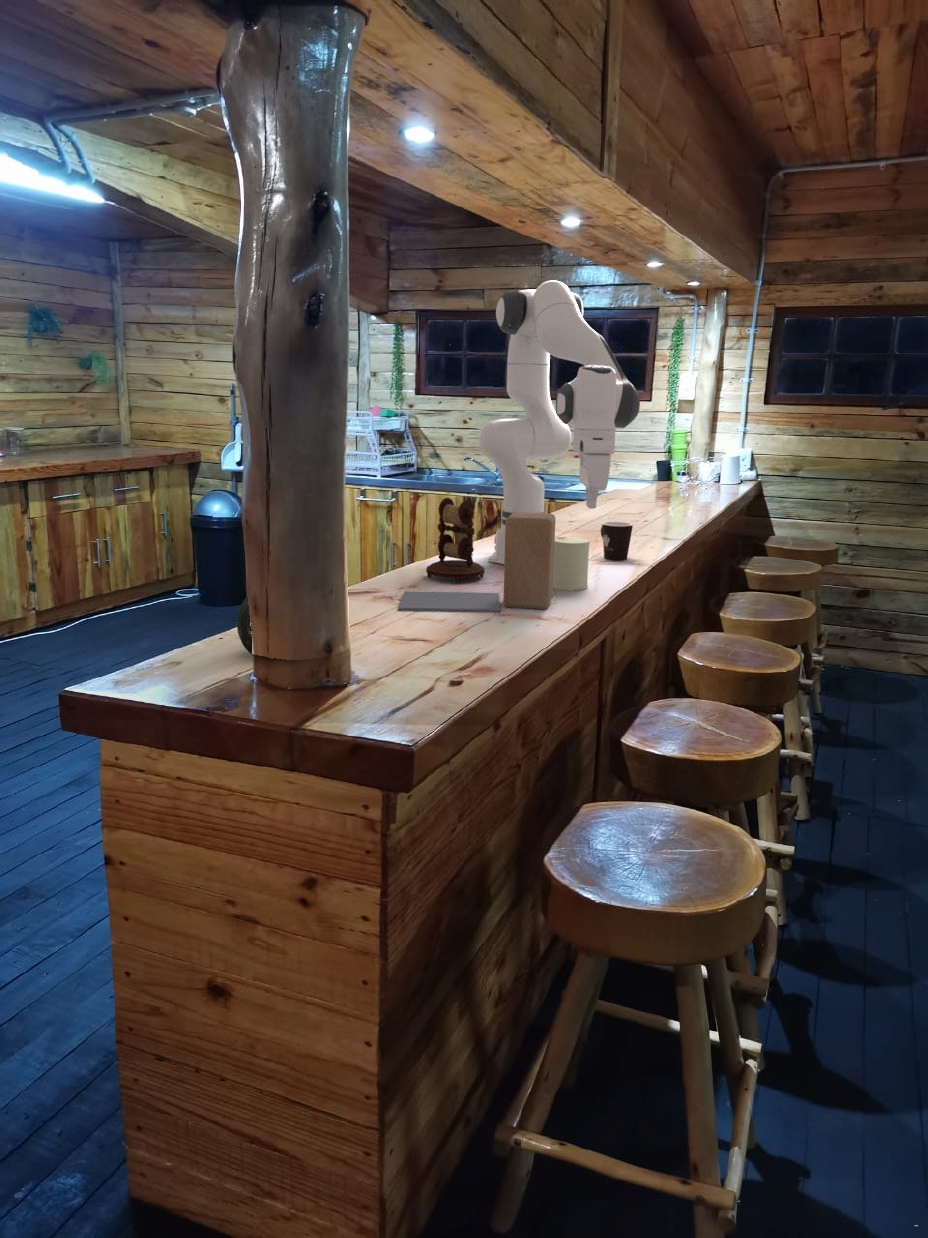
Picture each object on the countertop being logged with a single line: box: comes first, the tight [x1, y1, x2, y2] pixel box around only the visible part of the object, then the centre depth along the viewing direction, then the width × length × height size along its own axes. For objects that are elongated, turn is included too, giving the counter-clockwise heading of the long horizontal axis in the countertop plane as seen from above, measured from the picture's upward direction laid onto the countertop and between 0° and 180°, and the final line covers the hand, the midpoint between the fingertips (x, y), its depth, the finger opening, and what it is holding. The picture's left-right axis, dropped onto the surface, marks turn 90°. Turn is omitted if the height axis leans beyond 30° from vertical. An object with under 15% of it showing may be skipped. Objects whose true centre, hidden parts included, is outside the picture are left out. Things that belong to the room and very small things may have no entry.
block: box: [502, 512, 556, 610], centre depth 198 cm, size 10×10×20 cm
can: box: [553, 536, 591, 592], centre depth 217 cm, size 9×9×12 cm
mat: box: [397, 590, 501, 613], centre depth 201 cm, size 16×22×1 cm
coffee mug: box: [600, 521, 634, 562], centre depth 255 cm, size 12×9×10 cm
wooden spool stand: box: [425, 497, 485, 585], centre depth 224 cm, size 15×15×20 cm
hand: (591, 507), depth 195 cm, fingers closed
